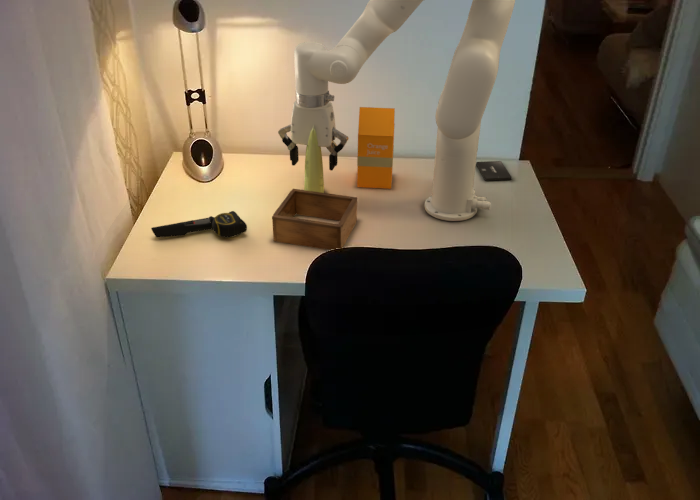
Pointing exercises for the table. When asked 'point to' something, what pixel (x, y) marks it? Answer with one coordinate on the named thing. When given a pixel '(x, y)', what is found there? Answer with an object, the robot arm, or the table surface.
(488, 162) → the solid state drive
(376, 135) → the orange juice
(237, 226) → the tape measure
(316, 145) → the bamboo shoot
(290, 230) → the wooden box
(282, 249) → the table surface
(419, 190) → the table surface
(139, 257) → the table surface
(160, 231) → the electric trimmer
